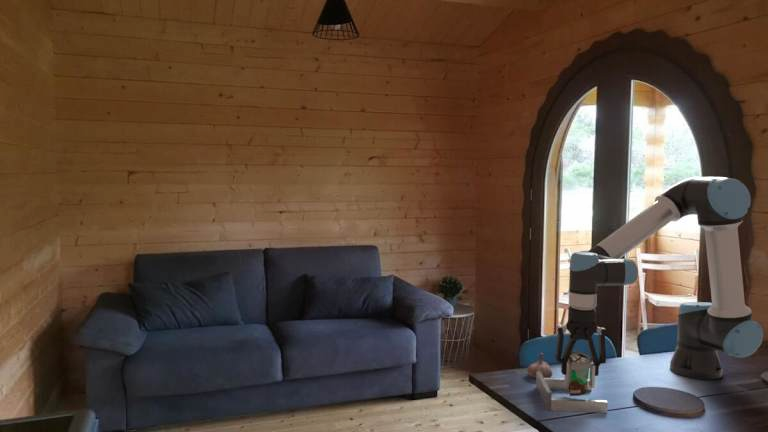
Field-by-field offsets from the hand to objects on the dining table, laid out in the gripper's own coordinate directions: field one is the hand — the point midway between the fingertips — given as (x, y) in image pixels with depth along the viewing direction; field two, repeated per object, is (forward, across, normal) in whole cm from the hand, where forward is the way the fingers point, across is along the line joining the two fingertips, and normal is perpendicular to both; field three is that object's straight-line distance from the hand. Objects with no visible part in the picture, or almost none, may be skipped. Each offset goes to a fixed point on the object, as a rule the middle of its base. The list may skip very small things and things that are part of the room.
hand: (579, 385), depth 171 cm
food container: (+2, 0, 0) cm, 2 cm away
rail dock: (+4, +2, 0) cm, 5 cm away
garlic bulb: (+4, +8, -18) cm, 20 cm away
